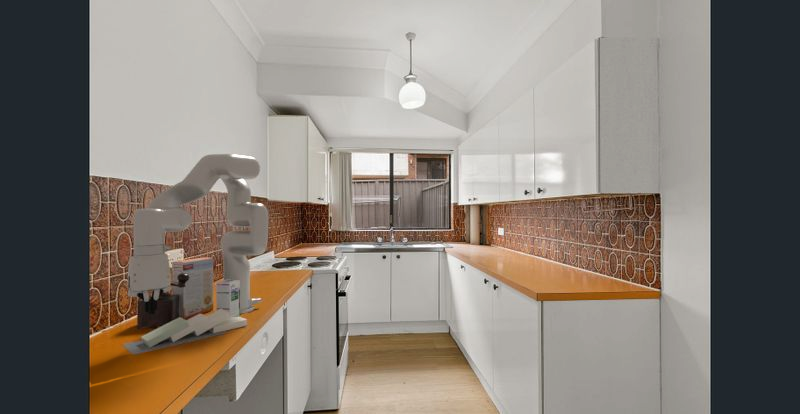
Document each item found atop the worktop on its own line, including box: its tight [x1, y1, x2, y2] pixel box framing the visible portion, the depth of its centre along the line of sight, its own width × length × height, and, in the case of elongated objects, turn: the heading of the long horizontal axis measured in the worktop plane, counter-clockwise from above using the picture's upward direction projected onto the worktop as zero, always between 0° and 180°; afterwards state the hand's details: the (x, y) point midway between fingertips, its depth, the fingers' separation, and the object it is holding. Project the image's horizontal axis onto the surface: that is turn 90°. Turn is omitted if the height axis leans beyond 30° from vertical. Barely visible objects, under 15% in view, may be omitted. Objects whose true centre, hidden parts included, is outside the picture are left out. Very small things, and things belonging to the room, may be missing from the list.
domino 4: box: [208, 316, 248, 333], centre depth 128 cm, size 2×6×11 cm
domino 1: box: [140, 317, 189, 347], centre depth 114 cm, size 2×6×11 cm
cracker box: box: [171, 257, 214, 320], centre depth 146 cm, size 14×6×21 cm, turn 161°
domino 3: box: [191, 309, 231, 336], centre depth 124 cm, size 2×6×11 cm
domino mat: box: [122, 330, 227, 355], centre depth 117 cm, size 25×12×1 cm, turn 138°
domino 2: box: [168, 313, 210, 342], centre depth 119 cm, size 2×6×11 cm
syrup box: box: [215, 279, 241, 319], centre depth 137 cm, size 6×6×14 cm
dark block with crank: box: [136, 273, 189, 330], centre depth 133 cm, size 16×11×18 cm
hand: (150, 313), depth 112 cm, fingers closed
